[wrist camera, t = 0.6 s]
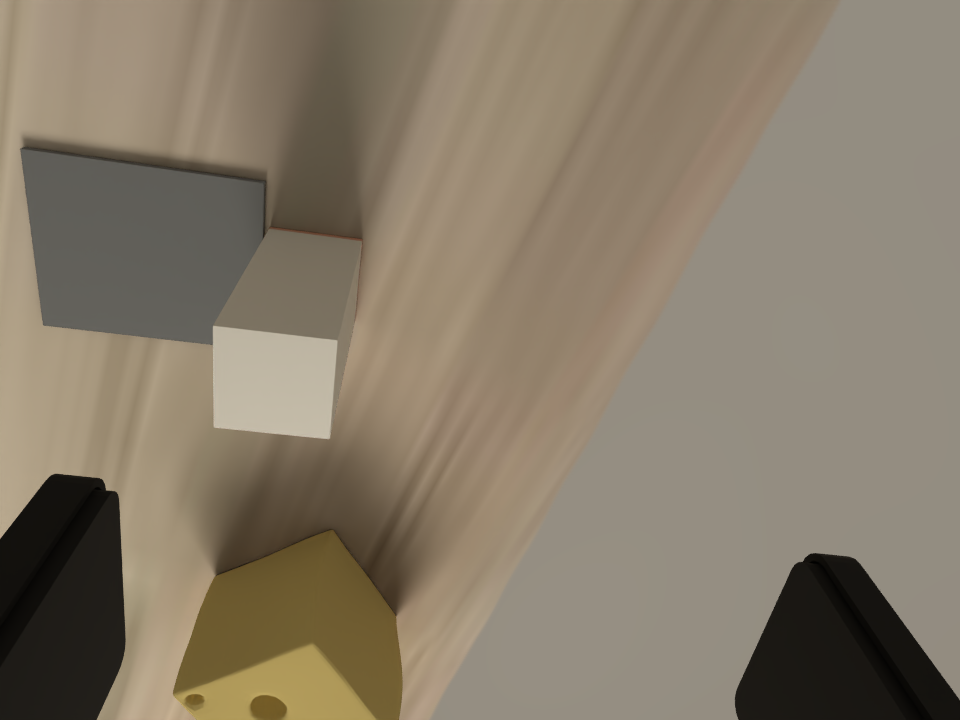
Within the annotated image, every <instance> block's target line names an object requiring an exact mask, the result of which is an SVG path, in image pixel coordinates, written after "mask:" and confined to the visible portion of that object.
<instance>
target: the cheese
mask: <svg viewBox="0 0 960 720" xmlns="http://www.w3.org/2000/svg"><path fill="white" fill-rule="evenodd" d="M173 695H174V697H175V698H176V699H177V700H178V701H179V702H180V703H181V704H182V705H183V707H184V708H185V709H186V710H187V711H188V712H189V713H190V714H191V715H192V716H194V717H195V719H196V720H399V715H400V709H401V700H402V665H401V657H400V649H399V642H398V634H397V626H396V616H395V614H394V612H393V611H392V610H391V608H390V607H389V605H388V604H387V603H386V601H385V600H384V598H383V597H382V595H381V594H380V593H379V591H378V590H377V588H376V587H375V586H374V584H373V583H372V582H371V580H370V579H369V578H368V576H367V575H366V574H365V572H364V571H363V570H362V568H361V567H360V566H359V565H358V563H357V562H356V561H355V559H354V558H353V557H352V556H351V554H350V553H349V552H348V550H347V549H346V548H345V546H344V545H343V543H342V542H341V541H340V539H339V538H338V536H337V535H336V533H335V532H334V531H333V530H329V531H326V532H323V533H321V534H318V535H315V536H313V537H310V538H308V539H305V540H303V541H300V542H298V543H296V544H293V545H291V546H289V547H287V548H284V549H282V550H280V551H278V552H276V553H273V554H271V555H269V556H266V557H264V558H261V559H259V560H256V561H254V562H251V563H249V564H246V565H243V566H241V567H238V568H235V569H233V570H230V571H228V572H225V573H222V574H220V575H217V576H215V577H214V579H213V581H212V583H211V585H210V587H209V590H208V592H207V594H206V596H205V599H204V601H203V604H202V606H201V608H200V611H199V614H198V617H197V620H196V623H195V626H194V629H193V632H192V635H191V638H190V641H189V644H188V646H187V649H186V652H185V655H184V657H183V661H182V663H181V666H180V669H179V673H178V676H177V679H176V683H175V687H174V690H173Z"/></svg>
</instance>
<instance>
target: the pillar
mask: <svg viewBox="0 0 960 720" xmlns="http://www.w3.org/2000/svg"><path fill="white" fill-rule="evenodd" d="M362 240H363V239H357V238H349V237H342V236H335V235H327V234H320V233H312V232H305V231H298V230H290V229H283V228H275V227H270V228H269V230H268V231H267V233H266V235H265V237H264V238H263V240H262V242H261V243H260V245H259V247H258V249H257V250H256V252H255V254H254V256H253V257H252V259H251V261H250V262H249V264H248V266H247V268H246V269H245V271H244V273H243V275H242V276H241V278H240V280H239V281H238V283H237V285H236V287H235V288H234V290H233V292H232V294H231V295H230V297H229V299H228V300H227V302H226V304H225V306H224V307H223V309H222V311H221V313H220V314H219V316H218V318H217V319H216V321H215V323H214V325H213V395H214V427H215V428H224V429H234V430H244V431H254V432H263V433H273V434H283V435H293V436H303V437H312V438H322V439H330V435H331V431H332V426H333V421H334V417H335V412H336V407H337V403H338V398H339V393H340V389H341V384H342V379H343V375H344V370H345V365H346V361H347V356H348V351H349V347H350V342H351V337H352V333H353V328H354V323H355V317H356V306H357V295H358V284H359V273H360V262H361V251H362Z"/></svg>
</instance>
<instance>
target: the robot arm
mask: <svg viewBox="0 0 960 720" xmlns="http://www.w3.org/2000/svg"><path fill="white" fill-rule="evenodd" d="M125 640H126V639H125V617H124V596H123V574H122V553H121V531H120V510H119V497H118V494H117V492H115V491H106V488H105V484H104V482H103V480H102V479H100V478H92V477H82V476H72V475H63V474H54V475H51V476H50V477H49V478H48V479H47V480H46V481H45V482H44V484H43V485H42V486H41V487H40V489H39V490H38V491H37V493H36V494H35V495H34V496H33V498H32V499H31V500H30V502H29V503H28V504H27V505H26V507H25V508H24V509H23V511H22V512H21V513H20V514H19V516H18V517H17V518H16V519H15V521H14V522H13V523H12V525H11V526H10V527H9V528H8V530H7V531H6V532H5V534H4V535H3V536H2V537H1V539H0V720H97V718H98V715H99V713H100V711H101V709H102V707H103V705H104V702H105V700H106V698H107V696H108V694H109V691H110V689H111V687H112V685H113V683H114V681H115V678H116V676H117V674H118V672H119V669H120V667H121V663H122V660H123V656H124V651H125ZM735 708H736V713H737V717H738V719H739V720H960V700H959V698H958V697H957V696H956V694H955V693H954V692H953V690H952V689H951V688H950V686H949V685H948V683H947V682H946V681H945V679H944V678H943V677H942V676H941V674H940V672H939V671H938V670H937V668H936V667H935V666H934V664H933V663H932V661H931V660H930V659H929V658H928V656H927V655H926V653H925V652H924V651H923V649H922V648H921V647H920V645H919V644H918V642H917V641H916V640H915V638H914V637H913V636H912V634H911V633H910V631H909V630H908V629H907V627H906V626H905V625H904V623H903V622H902V621H901V619H900V618H899V617H898V615H897V614H896V612H895V611H894V610H893V608H892V607H891V606H890V604H889V603H888V601H887V600H886V599H885V597H884V596H883V595H882V593H881V592H880V591H879V589H878V588H877V586H876V585H875V584H874V582H873V581H872V580H871V578H870V577H869V575H868V574H867V573H866V571H865V570H864V569H863V567H862V566H861V564H860V563H859V562H857V560H856V559H854V558H851V557H847V556H837V555H827V554H817V553H814V554H810V555H808V556H807V557H806V558H805V559H804V561H803V562H798V563H797V564H795V565H794V567H793V568H792V570H791V572H790V574H789V577H788V579H787V581H786V583H785V585H784V587H783V589H782V592H781V594H780V596H779V598H778V600H777V603H776V605H775V607H774V609H773V611H772V614H771V616H770V618H769V620H768V622H767V625H766V627H765V629H764V631H763V633H762V635H761V638H760V640H759V642H758V644H757V646H756V649H755V651H754V653H753V655H752V657H751V660H750V662H749V664H748V666H747V668H746V671H745V673H744V675H743V677H742V679H741V681H740V683H739V686H738V688H737V691H736V695H735Z"/></svg>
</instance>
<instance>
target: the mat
mask: <svg viewBox="0 0 960 720" xmlns="http://www.w3.org/2000/svg"><path fill="white" fill-rule="evenodd" d="M20 150H21V158H22V165H23V173H24V181H25V189H26V196H27V204H28V212H29V220H30V227H31V235H32V243H33V250H34V258H35V266H36V274H37V281H38V289H39V297H40V305H41V312H42V320H43V325H44V326H53V327H62V328H71V329H79V330H88V331H97V332H105V333H114V334H123V335H131V336H140V337H149V338H157V339H166V340H175V341H184V342H192V343H201V344H210V345H213V325H214V323H215V321H216V319H217V318H218V316H219V314H220V313H221V311H222V309H223V307H224V306H225V304H226V302H227V300H228V299H229V297H230V295H231V294H232V292H233V290H234V288H235V287H236V285H237V283H238V281H239V280H240V278H241V276H242V275H243V273H244V271H245V269H246V268H247V266H248V264H249V262H250V261H251V259H252V257H253V256H254V254H255V252H256V250H257V249H258V247H259V245H260V243H261V242H262V240H263V238H264V221H265V183H266V181H261V180H254V179H247V178H240V177H233V176H226V175H219V174H212V173H205V172H197V171H190V170H183V169H176V168H169V167H162V166H155V165H148V164H141V163H134V162H127V161H120V160H113V159H106V158H99V157H92V156H85V155H78V154H71V153H64V152H57V151H50V150H42V149H35V148H28V147H23V148H21V149H20Z"/></svg>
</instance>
